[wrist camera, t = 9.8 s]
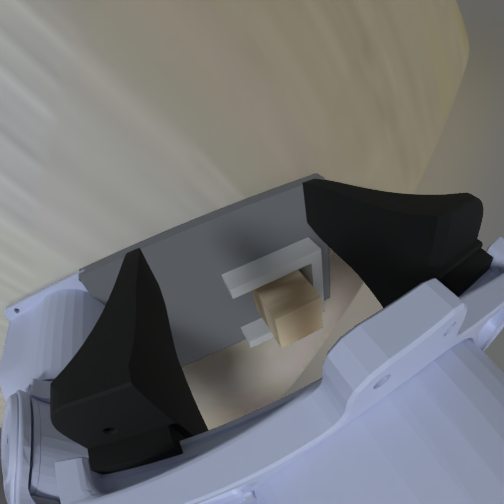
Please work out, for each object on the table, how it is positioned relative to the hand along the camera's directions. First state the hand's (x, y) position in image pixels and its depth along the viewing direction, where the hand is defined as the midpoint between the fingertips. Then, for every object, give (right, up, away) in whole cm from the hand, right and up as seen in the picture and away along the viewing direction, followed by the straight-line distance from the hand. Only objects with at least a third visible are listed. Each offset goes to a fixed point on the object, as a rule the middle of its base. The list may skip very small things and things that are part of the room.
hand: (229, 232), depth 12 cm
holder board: (-2, -4, +14) cm, 14 cm away
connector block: (+3, -4, +15) cm, 16 cm away
